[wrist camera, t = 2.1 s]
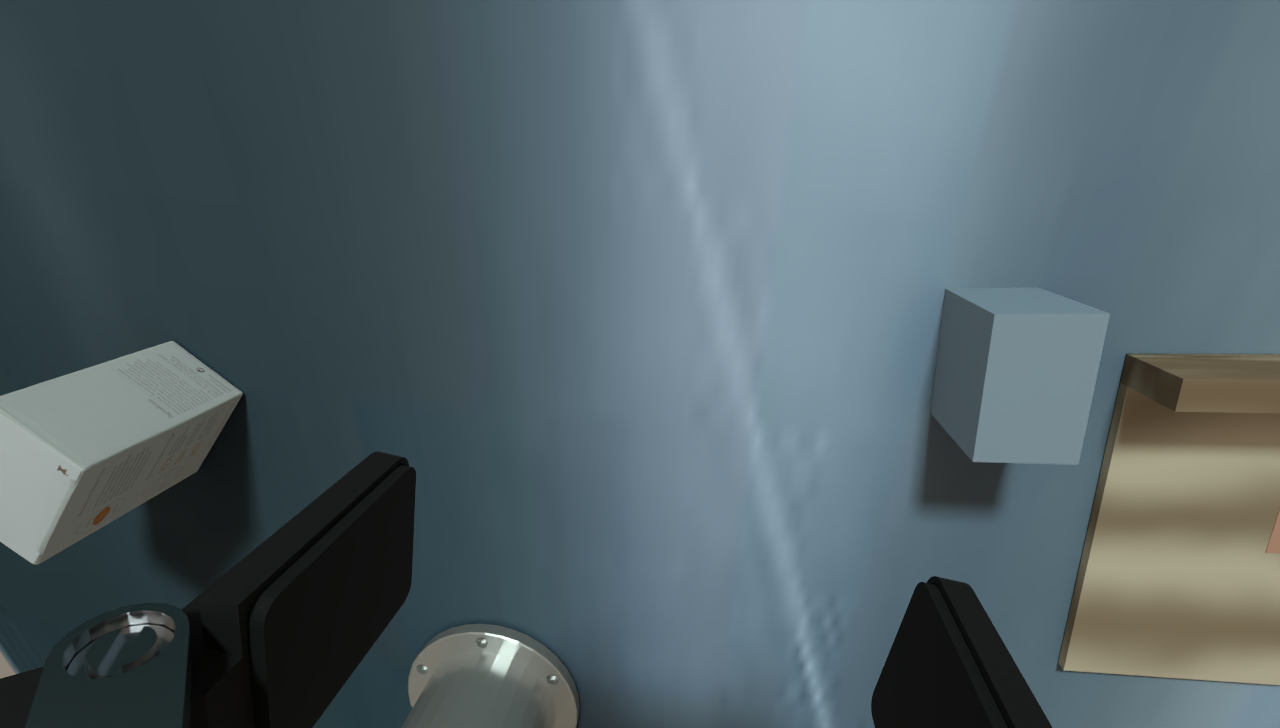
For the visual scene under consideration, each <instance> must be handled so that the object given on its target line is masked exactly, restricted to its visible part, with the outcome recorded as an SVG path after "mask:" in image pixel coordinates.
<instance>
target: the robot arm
mask: <svg viewBox="0 0 1280 728" xmlns="http://www.w3.org/2000/svg"><path fill="white" fill-rule="evenodd" d="M415 485H416V471H415V469H414V468H413V467H409V463H408V461H407V459H406V458H404V457H400V456H395V455H391V454H386V453H382V452H374V453H372V454H370V455H369V456H368V457H367V458H366V459H364V460H363V461H362V462H361V463H359V464H358V465H357V466H356V467H355V468H353V469H352V470H351V471H350V472H348V473H347V474H346V475H345V476H344V477H342V478H341V479H340V480H339V481H337V482H336V483H335V484H334V485H333V486H331V487H330V488H329V489H328V490H327V491H325V492H324V493H323V494H322V495H320V496H319V497H318V498H317V499H316V500H314V501H313V502H312V503H311V504H309V505H308V506H307V507H306V508H305V509H303V510H302V511H301V512H300V513H298V514H297V515H296V516H295V517H294V518H292V519H291V520H290V521H289V522H288V523H286V524H285V525H284V526H283V527H281V528H280V529H279V530H278V531H277V532H275V533H274V534H273V535H272V536H270V537H269V538H268V539H267V540H266V541H264V542H263V543H262V544H261V545H259V546H258V547H257V548H256V549H255V550H253V551H252V552H251V553H250V554H249V555H247V556H246V557H245V558H244V559H242V560H241V561H240V562H239V563H238V564H236V565H235V566H234V567H233V568H231V569H230V570H229V571H228V572H227V573H225V574H224V575H223V576H222V577H220V578H219V579H218V580H217V581H216V582H214V583H213V584H212V585H211V586H210V587H208V588H207V589H206V590H205V591H203V592H202V593H201V594H200V595H199V596H198V597H196V598H195V599H194V600H193V601H192V602H190V603H189V604H188V605H187V606H185V607H184V608H183V609H182V610H181V609H180V608H177V607H174V606H171V605H169V604H163V603H142V604H134V605H128V606H124V607H121V608H117V609H114V610H110V611H107V612H105V613H103V614H100V615H98V616H96V617H94V618H92V619H89V620H87V621H85V622H84V623H82V624H81V625H79V626H78V627H76V628H75V629H73V630H72V631H70V632H68V633H67V634H66V635H65V636H64V637H63V638H62V639H61V640H60V641H59V642H58V643H57V644H56V645H55V646H54V647H53V649H52V651H51V652H50V654H49V656H48V658H47V659H46V662H45V665H44V667H41V668H37V669H34V670H30V671H26V672H23V673H19V674H16V675H13V676H9V677H5V678H2V679H0V728H312V727H313V726H314V725H315V723H316V722H317V721H318V719H319V718H320V716H321V715H322V714H323V712H324V711H325V710H326V708H327V707H328V705H329V704H330V703H331V701H332V700H333V699H334V697H335V696H336V695H337V693H338V692H339V690H340V689H341V688H342V686H343V685H344V684H345V682H346V681H347V680H348V678H349V677H350V675H351V674H352V673H353V671H354V670H355V669H356V667H357V666H358V665H359V663H360V662H361V660H362V659H363V658H364V656H365V655H366V654H367V652H368V651H369V650H370V648H371V647H372V645H373V644H374V643H375V641H376V640H377V639H378V637H379V636H380V635H381V633H382V632H383V630H384V629H385V628H386V626H387V625H388V624H389V622H390V621H391V620H392V618H393V617H394V615H395V614H396V613H397V611H398V610H399V609H400V607H401V606H402V605H403V603H404V601H405V600H406V598H407V596H408V593H409V590H410V587H411V580H412V556H413V533H414V509H415ZM408 694H409V699H410V704H411V706H412V710H411V712H410V713H409V715H408V717H407V719H406V720H405V722H404V724H403V726H402V727H401V728H576V725H577V722H578V717H579V710H580V704H579V694H578V691H577V688H576V685H575V682H574V680H573V678H572V677H571V675H570V673H569V671H568V669H567V668H566V667H565V666H564V664H563V663H562V662H561V661H560V660H559V658H558V657H557V656H556V655H555V654H553V653H552V652H551V651H550V650H549V649H548V648H547V647H545V646H544V645H543V644H541V643H539V642H538V641H536V640H535V639H533V638H531V637H530V636H527V635H525V634H523V633H521V632H518V631H516V630H513V629H509V628H506V627H502V626H498V625H489V624H467V625H462V626H457V627H453V628H450V629H448V630H446V631H444V632H441V633H439V634H438V635H436V636H435V637H434V638H432V639H431V640H430V641H429V642H427V644H426V645H425V646H424V647H423V649H422V650H421V651H420V653H419V654H418V656H417V658H416V659H415V661H414V663H413V664H412V667H411V670H410V674H409V677H408ZM871 709H872V717H873V721H874V725H875V728H1052V726H1051V724H1050V723H1049V721H1048V719H1047V717H1046V716H1045V714H1044V712H1043V710H1042V709H1041V707H1040V705H1039V704H1038V702H1037V700H1036V698H1035V697H1034V695H1033V693H1032V691H1031V690H1030V688H1029V686H1028V684H1027V683H1026V681H1025V679H1024V678H1023V676H1022V674H1021V672H1020V671H1019V669H1018V667H1017V665H1016V664H1015V662H1014V660H1013V658H1012V657H1011V655H1010V653H1009V651H1008V650H1007V648H1006V646H1005V645H1004V643H1003V641H1002V639H1001V638H1000V636H999V634H998V632H997V631H996V629H995V627H994V625H993V624H992V622H991V620H990V618H989V617H988V615H987V613H986V612H985V610H984V608H983V606H982V605H981V603H980V601H979V599H978V598H977V596H976V594H975V592H974V591H973V589H972V588H971V587H970V585H968V584H966V583H962V582H958V581H953V580H949V579H945V578H940V577H936V576H934V577H931V578H930V579H929V580H928V581H927V583H924V582H920V583H919V584H918V585H917V586H916V588H915V590H914V593H913V595H912V598H911V600H910V603H909V605H908V608H907V610H906V613H905V615H904V618H903V620H902V623H901V625H900V628H899V630H898V633H897V635H896V638H895V640H894V642H893V645H892V647H891V650H890V652H889V655H888V657H887V660H886V662H885V665H884V667H883V670H882V672H881V675H880V677H879V680H878V682H877V685H876V687H875V690H874V692H873V696H872V704H871Z"/></svg>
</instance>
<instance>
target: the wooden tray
mask: <svg viewBox="0 0 1280 728" xmlns="http://www.w3.org/2000/svg"><path fill="white" fill-rule="evenodd" d="M1058 663H1059V664H1060V666H1061V667H1062V669H1063V670H1065V671H1080V672H1094V673H1109V674H1124V675H1138V676H1153V677H1167V678H1182V679H1196V680H1211V681H1225V682H1240V683H1254V684H1269V685H1280V354H1127V355H1126V359H1125V364H1124V368H1123V373H1122V377H1121V382H1120V386H1119V391H1118V395H1117V400H1116V405H1115V409H1114V414H1113V418H1112V423H1111V427H1110V432H1109V436H1108V441H1107V445H1106V450H1105V454H1104V459H1103V463H1102V468H1101V472H1100V477H1099V481H1098V486H1097V490H1096V495H1095V499H1094V504H1093V508H1092V513H1091V517H1090V522H1089V526H1088V531H1087V535H1086V540H1085V544H1084V549H1083V554H1082V558H1081V563H1080V567H1079V572H1078V576H1077V581H1076V585H1075V590H1074V594H1073V599H1072V603H1071V608H1070V612H1069V617H1068V621H1067V626H1066V630H1065V635H1064V639H1063V644H1062V648H1061V653H1060V657H1059V662H1058Z"/></svg>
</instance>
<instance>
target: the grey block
mask: <svg viewBox="0 0 1280 728" xmlns="http://www.w3.org/2000/svg"><path fill="white" fill-rule="evenodd" d="M1109 316H1110V314H1109V313H1107V312H1104V311H1101V310H1098V309H1096V308H1093V307H1090V306H1087V305H1085V304H1082V303H1079V302H1076V301H1074V300H1071V299H1068V298H1065V297H1063V296H1060V295H1057V294H1054V293H1052V292H1049V291H1046V290H1044V289H1041V288H961V289H945V295H944V304H943V312H942V320H941V328H940V337H939V345H938V353H937V361H936V370H935V378H934V386H933V394H932V403H931V411H930V413H931V414H932V416H933V417H934V418H935V419H936V420H937V421H938V423H939V424H940V425H941V426H942V427H943V428H944V429H945V431H946V432H947V433H948V434H949V435H950V436H951V438H952V439H953V440H954V441H955V442H956V443H957V444H958V446H959V447H960V448H961V449H962V450H963V451H964V453H965V454H966V455H967V456H968V457H969V458H970V459H971V461H972V462H993V463H1032V464H1070V465H1079V460H1080V455H1081V450H1082V446H1083V441H1084V436H1085V431H1086V426H1087V422H1088V417H1089V412H1090V407H1091V402H1092V398H1093V393H1094V388H1095V383H1096V378H1097V374H1098V369H1099V364H1100V359H1101V355H1102V350H1103V345H1104V340H1105V335H1106V331H1107V326H1108V321H1109Z"/></svg>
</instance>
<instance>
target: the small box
mask: <svg viewBox="0 0 1280 728" xmlns="http://www.w3.org/2000/svg"><path fill="white" fill-rule="evenodd" d="M242 395H243V393H242V392H241V391H240V390H238V389H237V388H236V387H234V386H233V385H232V384H230V383H229V382H228V381H226V380H225V379H224V378H222V377H221V376H220V375H218V374H217V373H216V372H214V371H213V370H211V369H210V368H209V367H207V366H206V365H205V364H203V363H202V362H201V361H199V360H198V359H197V358H195V357H194V356H193V355H191V354H190V353H189V352H187V351H186V350H185V349H183V348H182V347H181V346H179V345H178V344H177V343H175V342H174V341H170V342H166V343H164V344H160V345H157V346H154V347H151V348H148V349H145V350H142V351H139V352H135V353H133V354H129V355H126V356H123V357H120V358H117V359H114V360H111V361H108V362H105V363H102V364H98V365H96V366H92V367H89V368H86V369H83V370H80V371H77V372H74V373H71V374H67V375H64V376H61V377H58V378H55V379H52V380H49V381H45V382H42V383H39V384H36V385H33V386H30V387H27V388H24V389H21V390H18V391H15V392H12V393H9V394H5V395H2V396H0V542H2V543H3V544H5V545H6V546H7V547H9V548H10V549H12V550H13V551H15V552H16V553H17V554H19V555H20V556H22V557H23V558H25V559H26V560H28V561H29V562H31V563H32V564H40V563H42V562H43V561H45V560H47V559H48V558H50V557H52V556H53V555H55V554H57V553H59V552H61V551H62V550H64V549H66V548H67V547H69V546H71V545H72V544H74V543H76V542H78V541H79V540H81V539H83V538H84V537H86V536H88V535H89V534H91V533H93V532H95V531H96V530H98V529H100V528H102V527H103V526H105V525H107V524H108V523H110V522H112V521H114V520H115V519H117V518H119V517H120V516H122V515H124V514H125V513H127V512H129V511H131V510H132V509H134V508H136V507H137V506H139V505H141V504H142V503H144V502H146V501H148V500H149V499H151V498H153V497H155V496H156V495H158V494H160V493H161V492H163V491H165V490H167V489H168V488H170V487H172V486H173V485H175V484H177V483H179V482H180V481H182V480H184V479H185V478H187V477H189V476H190V475H192V474H194V473H196V472H197V471H198V470H199V468H200V466H201V464H202V463H203V461H204V459H205V458H206V456H207V454H208V452H209V451H210V449H211V448H212V446H213V444H214V442H215V441H216V439H217V437H218V436H219V434H220V432H221V431H222V429H223V427H224V426H225V424H226V422H227V420H228V419H229V417H230V415H231V414H232V412H233V410H234V409H235V407H236V405H237V404H238V402H239V400H240V399H241V397H242Z"/></svg>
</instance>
